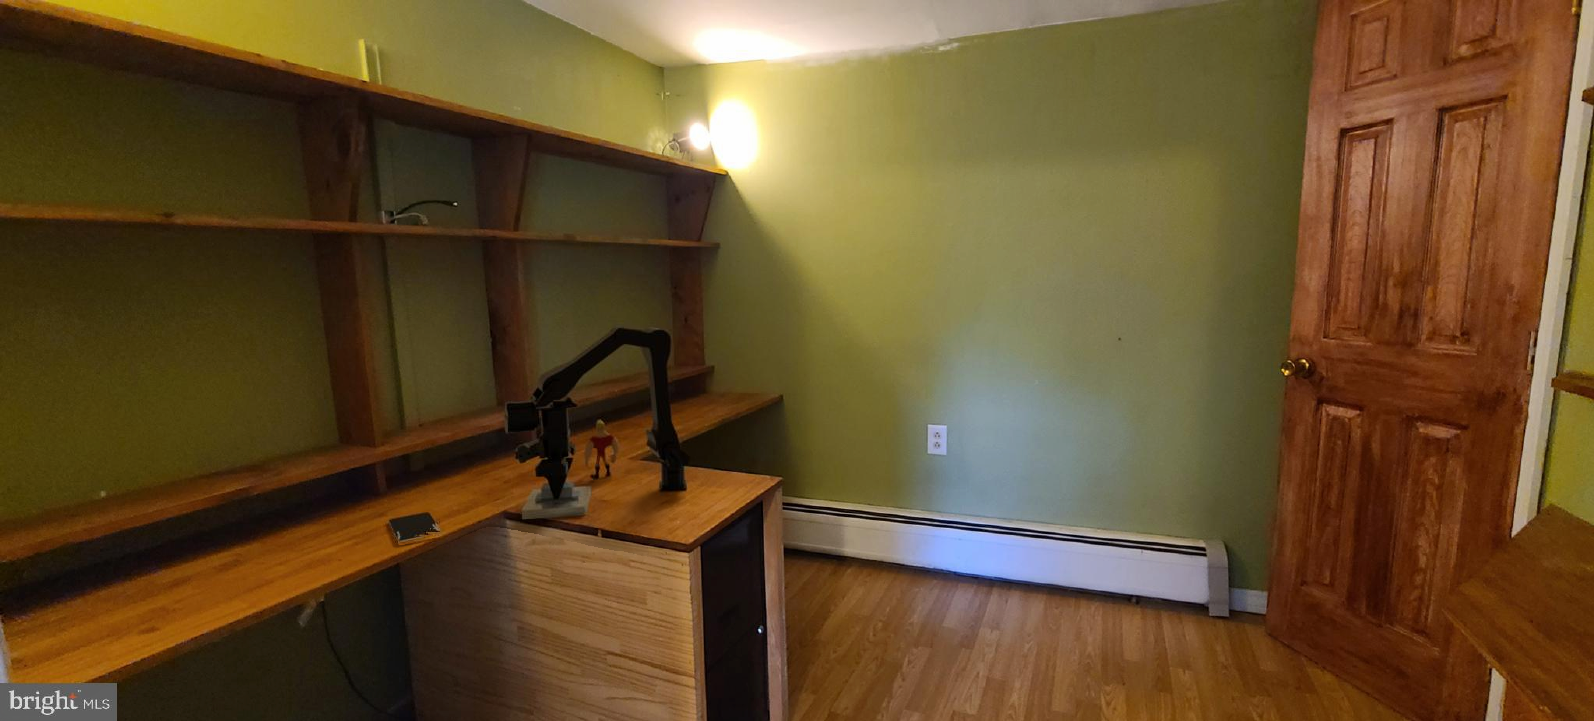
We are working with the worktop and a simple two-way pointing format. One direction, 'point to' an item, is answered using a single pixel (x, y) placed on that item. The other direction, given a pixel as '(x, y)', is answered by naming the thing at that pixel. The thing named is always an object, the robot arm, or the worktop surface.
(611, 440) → the action figure
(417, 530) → the smartphone
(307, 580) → the worktop surface
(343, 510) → the worktop surface
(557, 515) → the plate
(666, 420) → the robot arm
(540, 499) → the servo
